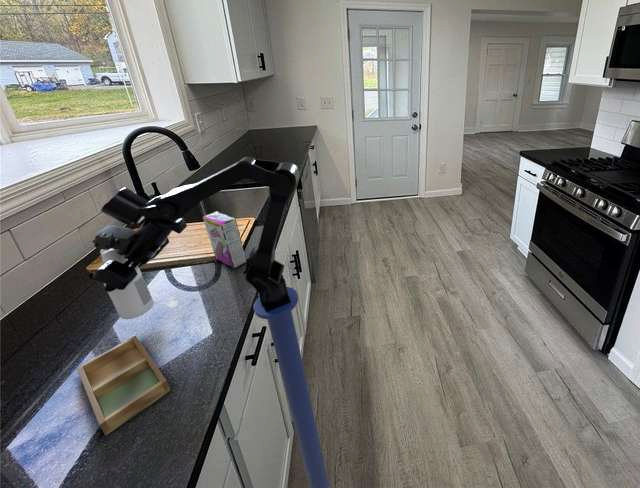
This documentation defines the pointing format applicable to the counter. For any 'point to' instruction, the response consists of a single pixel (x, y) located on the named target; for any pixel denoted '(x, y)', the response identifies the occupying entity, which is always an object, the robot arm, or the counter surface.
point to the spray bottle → (129, 291)
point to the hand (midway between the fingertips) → (117, 281)
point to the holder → (122, 383)
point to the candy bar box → (225, 239)
